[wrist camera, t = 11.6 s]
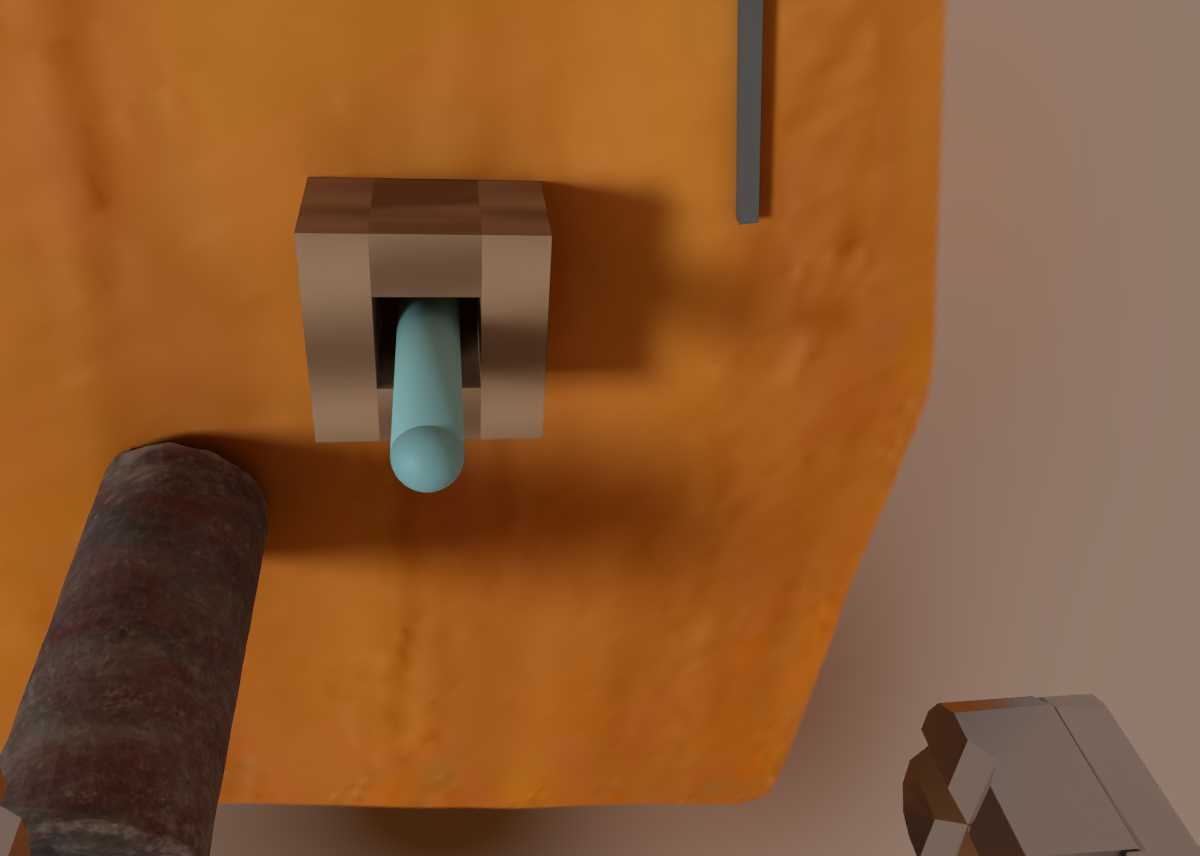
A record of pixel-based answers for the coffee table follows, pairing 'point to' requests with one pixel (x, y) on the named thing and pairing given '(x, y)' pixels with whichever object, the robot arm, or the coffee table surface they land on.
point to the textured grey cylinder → (141, 662)
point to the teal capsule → (427, 394)
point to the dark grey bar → (749, 109)
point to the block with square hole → (424, 269)
